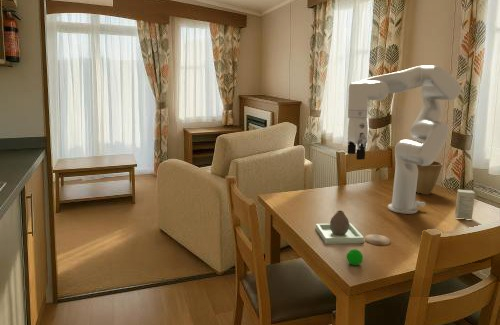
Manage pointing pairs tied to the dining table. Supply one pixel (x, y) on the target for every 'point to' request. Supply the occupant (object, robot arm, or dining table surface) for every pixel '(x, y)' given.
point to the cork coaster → (377, 239)
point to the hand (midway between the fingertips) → (355, 156)
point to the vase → (339, 224)
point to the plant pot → (427, 177)
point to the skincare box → (464, 204)
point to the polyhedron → (354, 257)
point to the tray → (331, 238)
